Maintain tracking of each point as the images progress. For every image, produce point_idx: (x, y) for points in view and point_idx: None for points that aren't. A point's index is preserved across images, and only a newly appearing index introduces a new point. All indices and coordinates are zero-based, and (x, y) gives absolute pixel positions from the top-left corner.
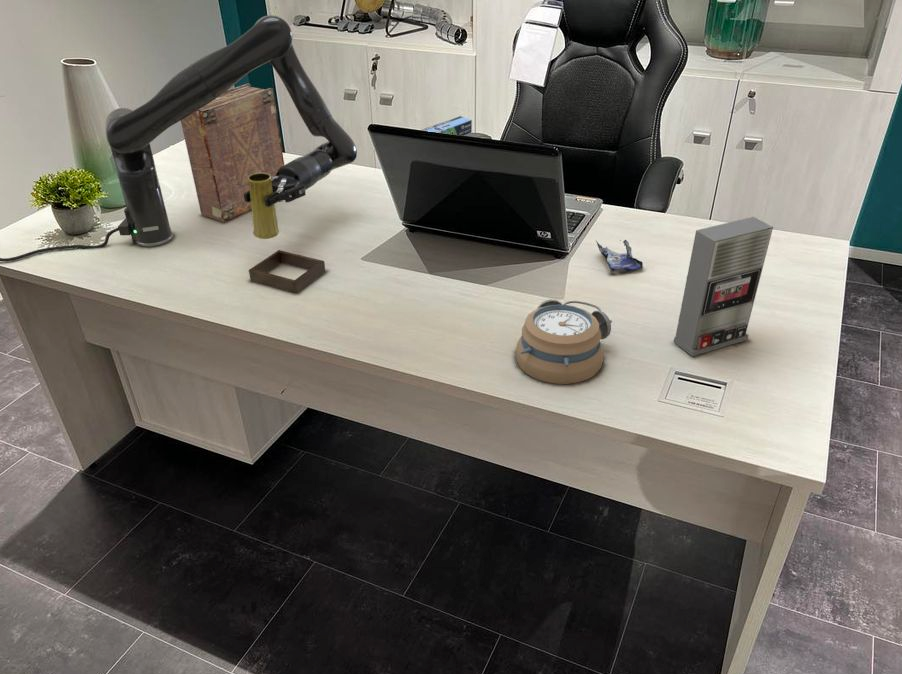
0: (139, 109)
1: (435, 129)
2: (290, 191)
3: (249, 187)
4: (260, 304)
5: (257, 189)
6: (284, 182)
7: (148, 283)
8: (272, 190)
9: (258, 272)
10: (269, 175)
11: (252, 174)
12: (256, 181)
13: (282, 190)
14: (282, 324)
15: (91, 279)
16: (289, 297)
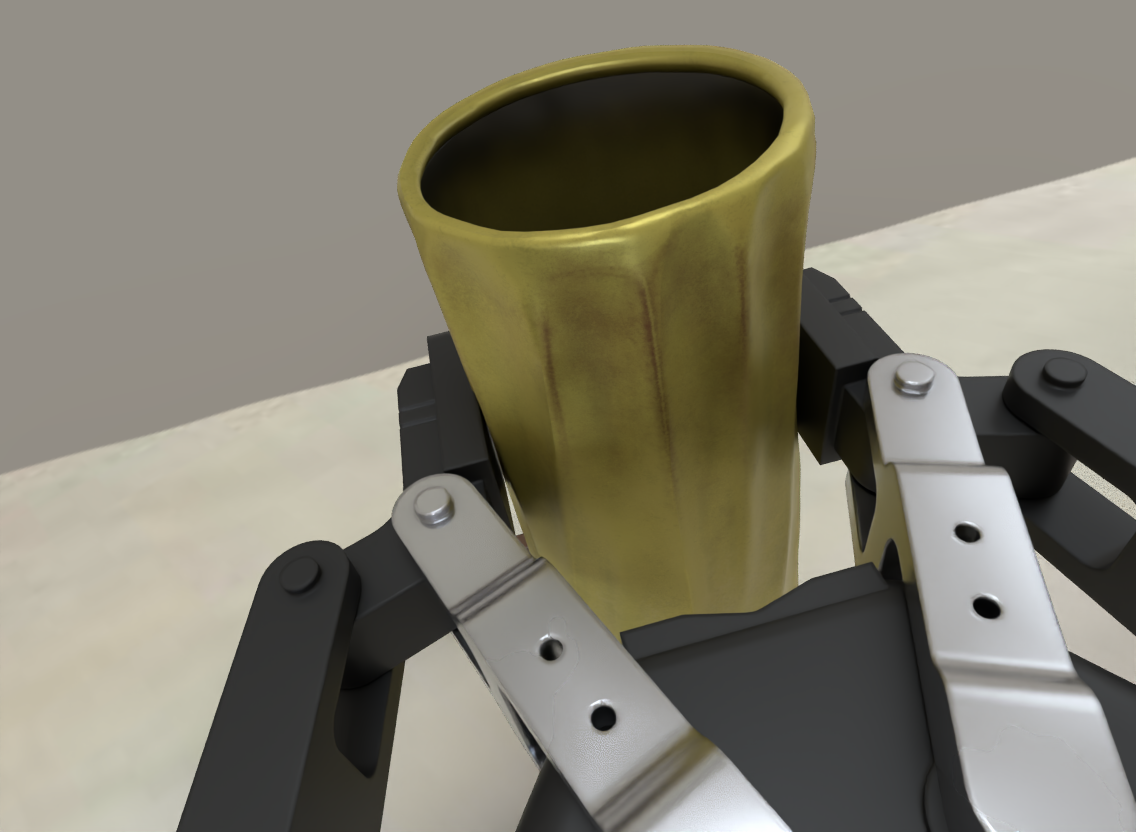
0: None
1: None
2: (245, 632)
3: (671, 180)
4: (392, 482)
5: (521, 206)
6: (576, 751)
7: (907, 297)
8: (552, 467)
9: (522, 534)
10: (512, 234)
11: (779, 87)
12: (488, 88)
13: (433, 587)
14: (215, 466)
15: (1073, 205)
16: None
